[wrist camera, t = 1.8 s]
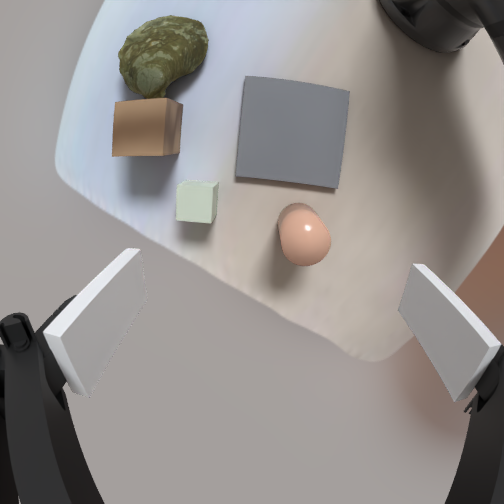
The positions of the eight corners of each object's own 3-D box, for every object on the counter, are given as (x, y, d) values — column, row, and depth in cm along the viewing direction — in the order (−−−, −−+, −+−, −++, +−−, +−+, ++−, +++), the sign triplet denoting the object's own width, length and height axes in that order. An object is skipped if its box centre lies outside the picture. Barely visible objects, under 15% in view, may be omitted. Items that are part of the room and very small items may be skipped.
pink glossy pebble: (280, 200, 33) (285, 215, 26) (321, 205, 33) (335, 222, 26) (275, 239, 34) (278, 263, 28) (314, 244, 35) (325, 268, 28)
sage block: (186, 179, 32) (176, 184, 28) (218, 182, 32) (213, 187, 28) (185, 211, 34) (175, 220, 30) (216, 214, 34) (211, 223, 30)
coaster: (245, 77, 27) (245, 75, 26) (347, 92, 27) (349, 91, 26) (236, 175, 32) (235, 176, 31) (336, 187, 32) (337, 188, 31)
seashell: (209, 8, 22) (185, 44, 19) (216, 54, 29) (199, 99, 26) (131, 23, 22) (94, 64, 19) (146, 62, 29) (118, 108, 26)
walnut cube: (138, 106, 28) (115, 102, 23) (183, 104, 28) (167, 97, 23) (135, 152, 31) (112, 156, 25) (179, 152, 31) (162, 155, 25)
